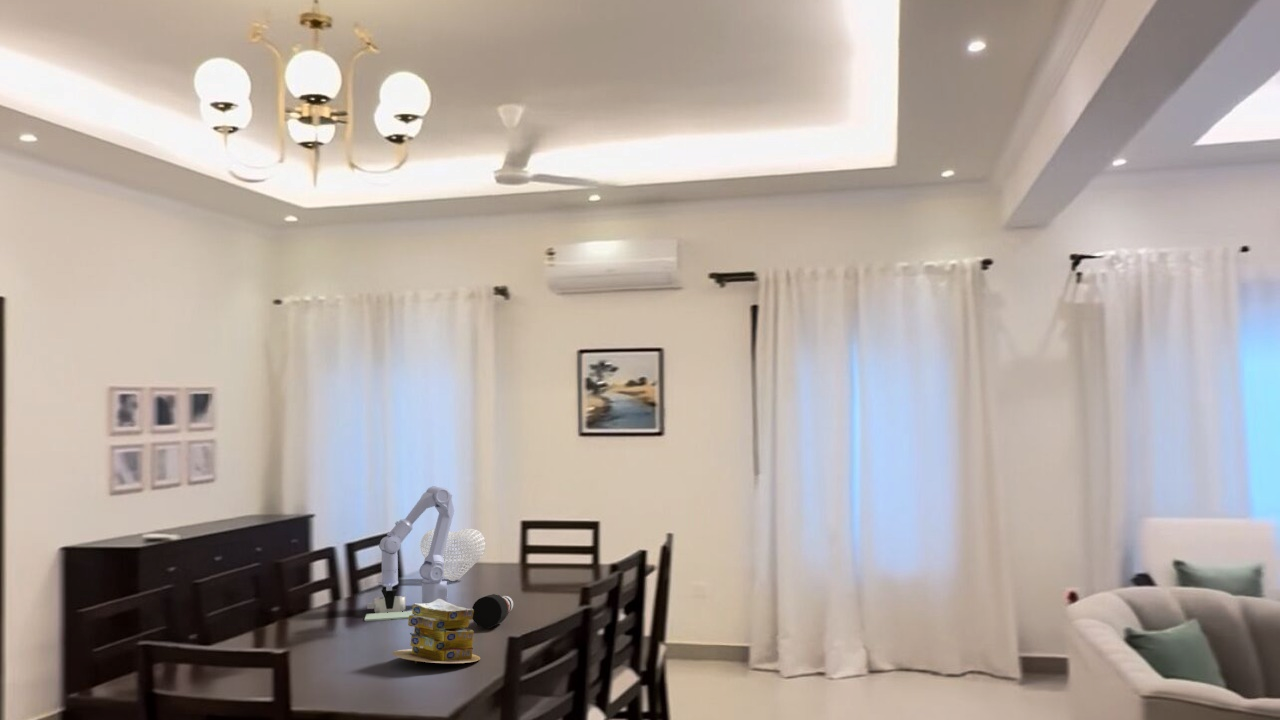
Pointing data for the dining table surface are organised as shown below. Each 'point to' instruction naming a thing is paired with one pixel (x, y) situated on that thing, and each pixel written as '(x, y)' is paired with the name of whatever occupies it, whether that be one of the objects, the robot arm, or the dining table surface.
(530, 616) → the dining table surface
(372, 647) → the dining table surface
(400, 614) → the mat
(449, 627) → the stacked yellow boxes
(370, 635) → the dining table surface
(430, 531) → the heart
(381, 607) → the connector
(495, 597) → the dark bottle
